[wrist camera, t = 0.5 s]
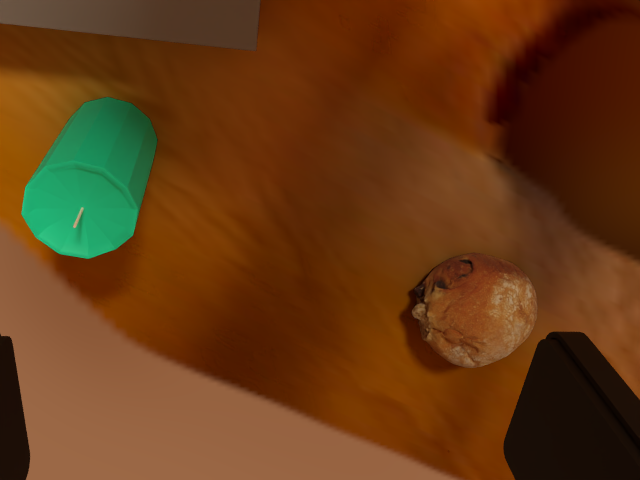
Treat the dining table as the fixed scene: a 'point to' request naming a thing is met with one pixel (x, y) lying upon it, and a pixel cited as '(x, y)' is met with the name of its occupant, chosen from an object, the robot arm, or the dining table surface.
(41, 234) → the candle
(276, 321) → the dining table surface
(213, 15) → the plinth
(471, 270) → the bread roll
